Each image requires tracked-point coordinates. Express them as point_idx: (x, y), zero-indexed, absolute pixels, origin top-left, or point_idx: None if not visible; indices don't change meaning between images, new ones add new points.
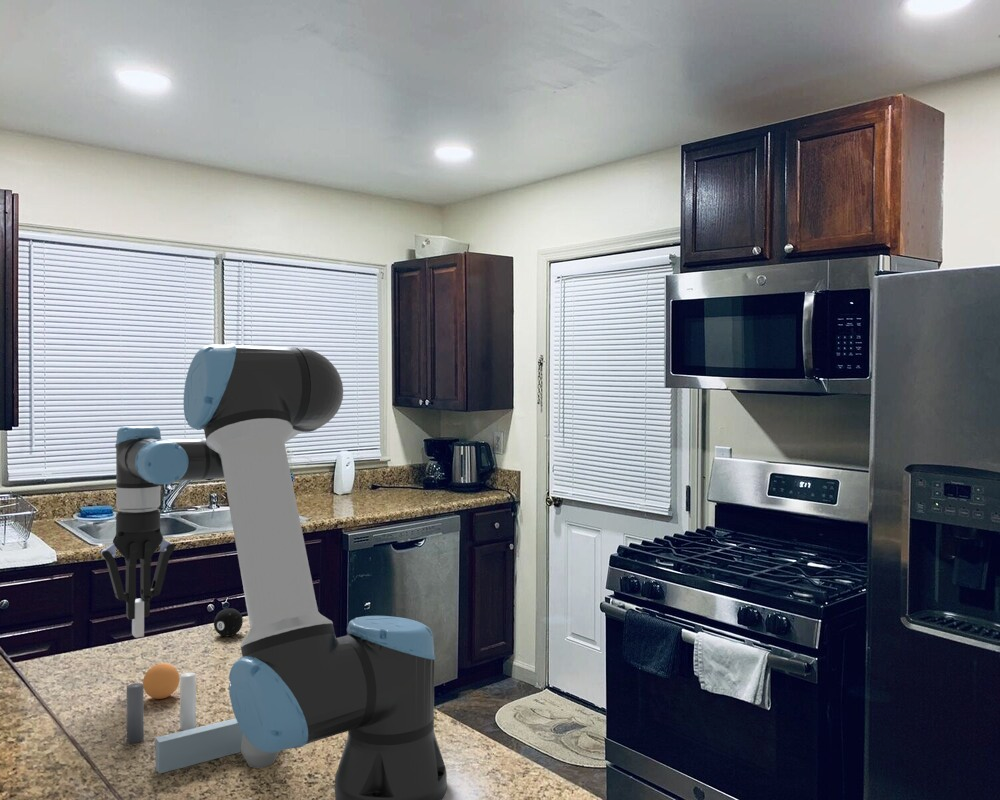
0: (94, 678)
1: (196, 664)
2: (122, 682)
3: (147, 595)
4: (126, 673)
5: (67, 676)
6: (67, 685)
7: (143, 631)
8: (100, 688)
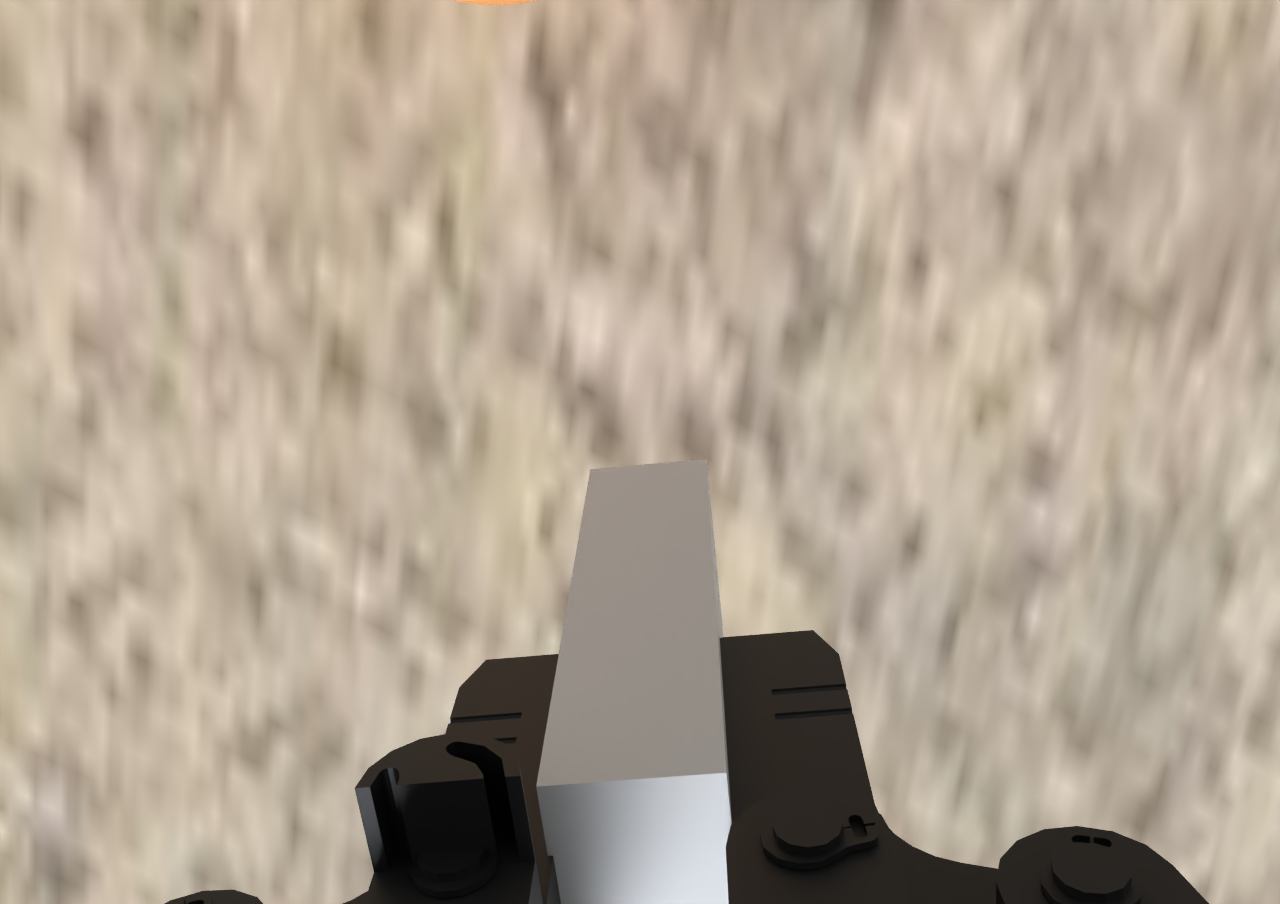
0: (963, 672)
1: (142, 601)
2: (778, 461)
3: (439, 889)
4: None
5: (1134, 816)
6: (1185, 613)
7: (593, 495)
8: (969, 402)
